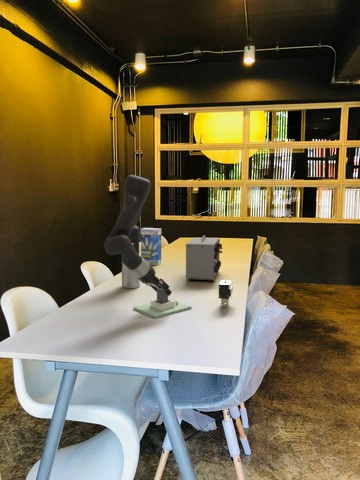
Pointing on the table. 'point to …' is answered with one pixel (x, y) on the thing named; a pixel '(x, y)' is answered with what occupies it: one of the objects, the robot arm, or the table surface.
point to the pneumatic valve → (225, 292)
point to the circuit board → (162, 308)
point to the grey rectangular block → (161, 296)
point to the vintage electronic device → (203, 258)
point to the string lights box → (151, 245)
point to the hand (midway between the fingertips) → (164, 292)
